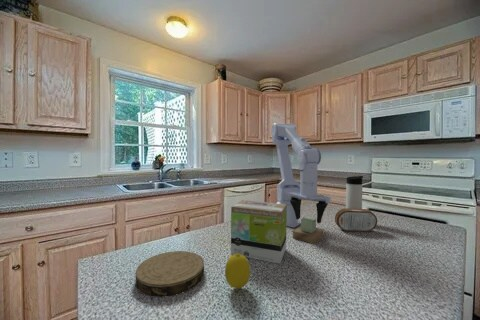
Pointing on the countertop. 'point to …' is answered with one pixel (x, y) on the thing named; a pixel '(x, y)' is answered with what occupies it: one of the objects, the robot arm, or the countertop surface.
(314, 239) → the walnut block
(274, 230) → the tea box
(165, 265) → the wooden coaster disc
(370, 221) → the tin
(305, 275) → the countertop surface
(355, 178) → the travel mug
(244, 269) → the lemon
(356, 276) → the countertop surface
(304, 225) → the sage cube
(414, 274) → the countertop surface
